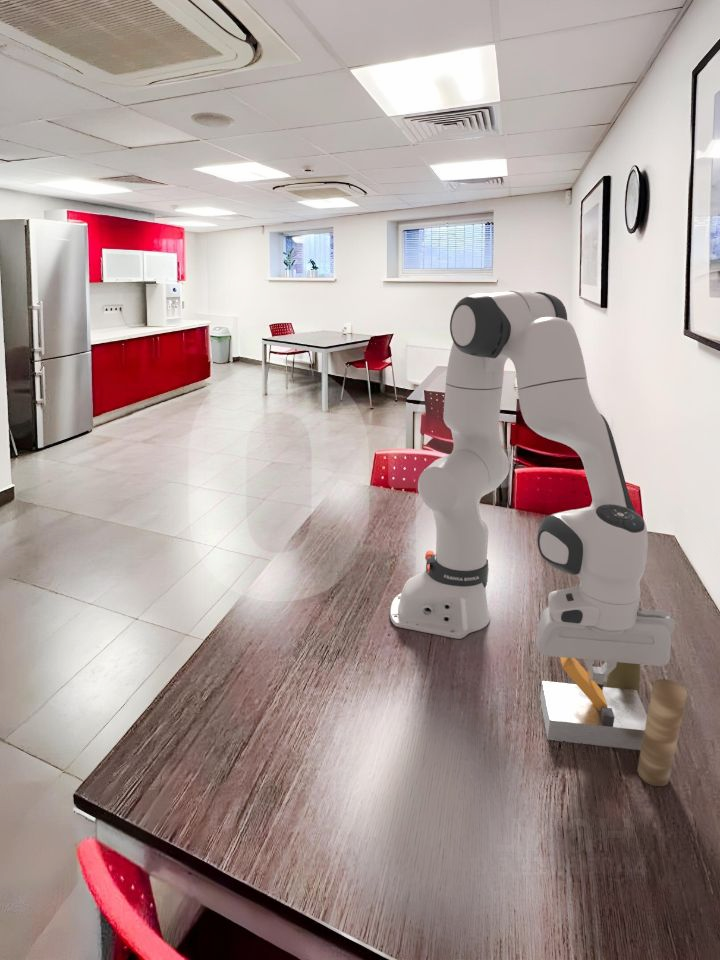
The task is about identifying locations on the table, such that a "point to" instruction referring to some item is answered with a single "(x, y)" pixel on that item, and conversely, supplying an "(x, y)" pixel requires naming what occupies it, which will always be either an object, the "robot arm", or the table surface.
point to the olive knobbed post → (625, 677)
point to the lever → (584, 682)
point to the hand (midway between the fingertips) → (596, 679)
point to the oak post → (661, 731)
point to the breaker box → (593, 716)
